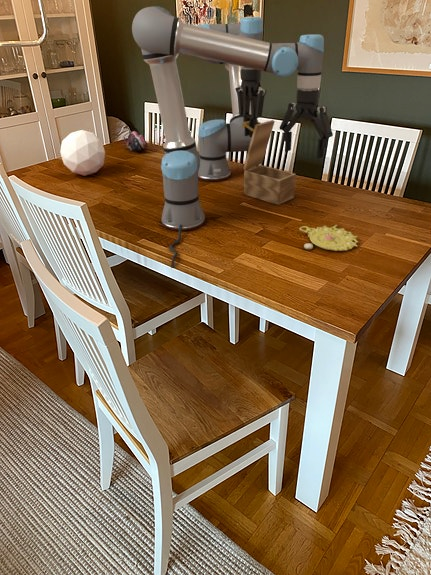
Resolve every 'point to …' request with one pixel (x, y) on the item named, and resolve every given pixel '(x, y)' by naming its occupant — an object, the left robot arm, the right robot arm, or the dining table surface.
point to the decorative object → (330, 238)
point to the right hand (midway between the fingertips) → (250, 135)
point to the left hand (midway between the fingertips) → (303, 154)
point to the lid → (258, 143)
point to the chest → (269, 184)
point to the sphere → (82, 152)
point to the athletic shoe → (135, 142)
